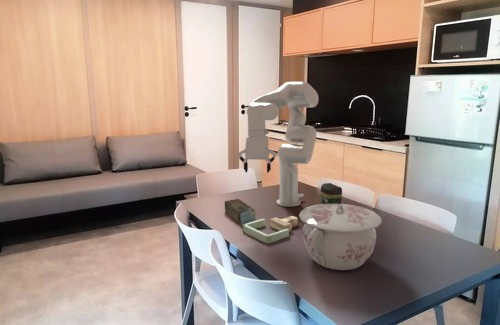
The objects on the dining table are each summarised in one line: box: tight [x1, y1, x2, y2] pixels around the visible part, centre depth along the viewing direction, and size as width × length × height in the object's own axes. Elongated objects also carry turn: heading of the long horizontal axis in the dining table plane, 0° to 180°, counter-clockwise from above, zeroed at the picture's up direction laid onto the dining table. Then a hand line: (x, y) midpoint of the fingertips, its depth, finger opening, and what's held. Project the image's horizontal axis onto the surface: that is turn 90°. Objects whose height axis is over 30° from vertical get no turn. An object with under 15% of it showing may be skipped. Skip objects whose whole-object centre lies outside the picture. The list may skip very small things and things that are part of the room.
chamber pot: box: [298, 203, 383, 271], centre depth 125 cm, size 28×28×21 cm
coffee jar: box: [320, 182, 343, 204], centre depth 159 cm, size 10×8×19 cm
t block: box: [269, 215, 299, 233], centre depth 159 cm, size 10×10×4 cm
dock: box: [241, 218, 290, 244], centre depth 152 cm, size 12×16×3 cm
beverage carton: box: [224, 198, 257, 225], centre depth 172 cm, size 8×19×7 cm, turn 26°
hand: (257, 171), depth 160 cm, fingers open, 9 cm apart
